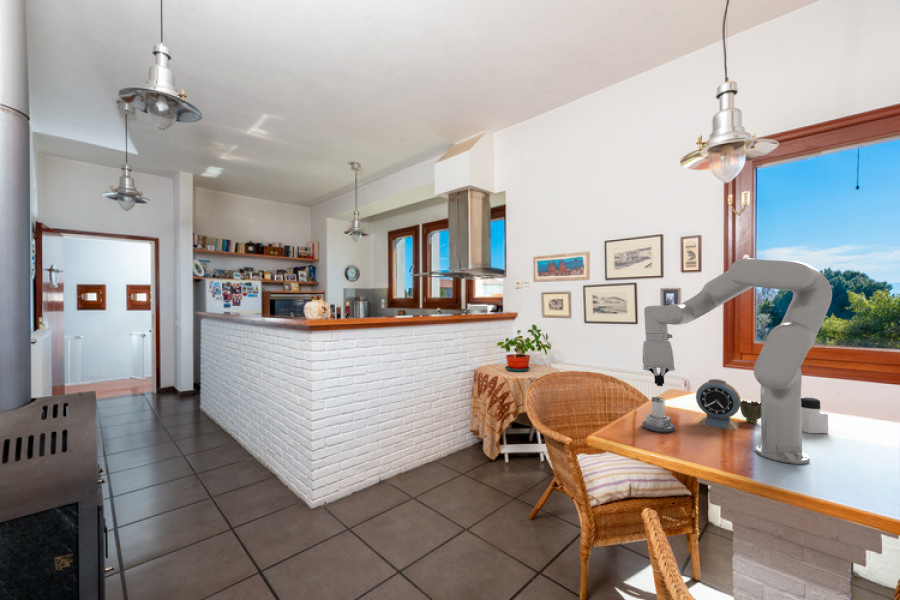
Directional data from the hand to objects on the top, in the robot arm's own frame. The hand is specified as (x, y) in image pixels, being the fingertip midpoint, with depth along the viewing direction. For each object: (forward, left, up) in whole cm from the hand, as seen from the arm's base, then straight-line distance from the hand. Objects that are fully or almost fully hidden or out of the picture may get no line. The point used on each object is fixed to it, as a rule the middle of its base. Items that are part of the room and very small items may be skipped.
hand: (659, 385), depth 144 cm
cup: (+18, -35, -17) cm, 43 cm away
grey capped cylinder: (0, +1, -15) cm, 15 cm away
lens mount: (0, +1, -17) cm, 17 cm away
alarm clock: (+12, -22, -17) cm, 31 cm away
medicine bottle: (+13, -51, -17) cm, 56 cm away
